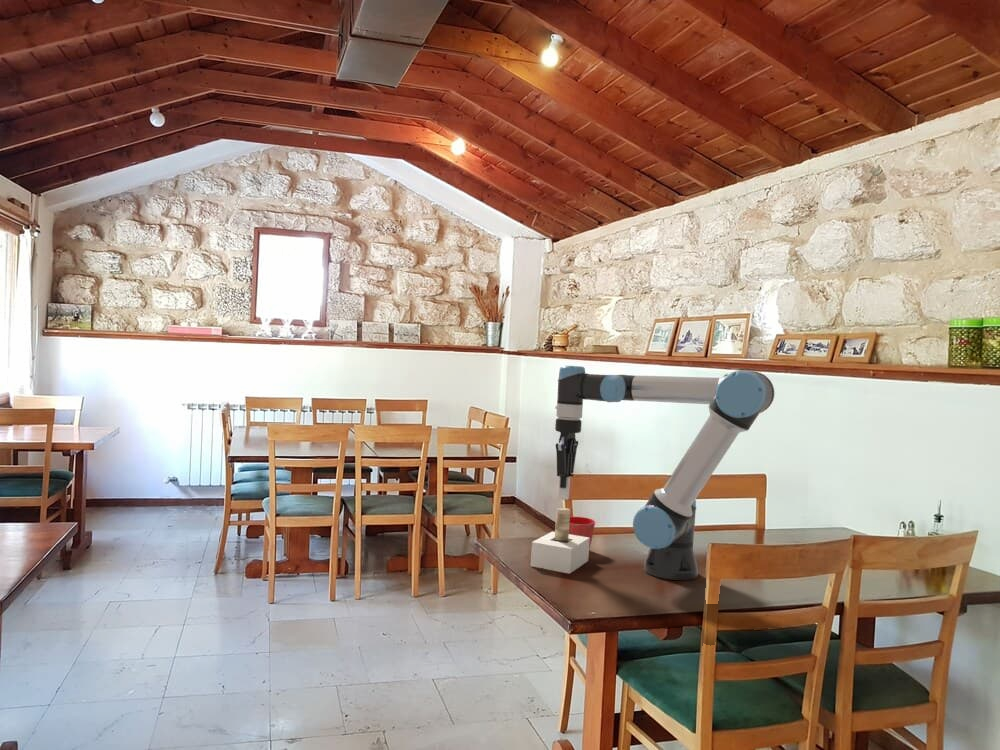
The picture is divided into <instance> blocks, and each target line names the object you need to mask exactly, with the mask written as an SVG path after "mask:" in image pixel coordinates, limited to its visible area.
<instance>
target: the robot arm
mask: <svg viewBox="0 0 1000 750" xmlns="http://www.w3.org/2000/svg"><path fill="white" fill-rule="evenodd" d="M774 399H775V388H774V385H773V382H772V381H771V380H770V378H769V377H768V376H766V375H765V374H763V373H762V372H759V371H754V370H745V369H743V370H741V369H740V370H735V371H732V372H730V373H729V374H728V373H725V374H723V376H722V377H704V376H667V375H666V376H665V375H632V374H631V375H628V374H598V373H597V374H596V373H595V374H594V373H586V368H585V367H584V366H581V365H579V366H578V365H561V366H560V368H559V372H558V379H557V399H556V400H557V401H556V406H555V407H554V408H555V409H556V415H555V416H556V417H557V418H556V419H555V427H554V429H555V431H556V432H558V433H560V434H559V438H558V443H555V451H556V452H555V453H556V477H559V484H558V497H557V498H558V499H559V500H567V501H568V500H570V490H571V489H570V487H571V478H572V477H574V476H575V475H574V472H575V471H574V470H575V465H576V464H575V463H576V456H577V449H578V446H579V440H577V439H576V434H579V433H581V432H582V420H581V419H582V418H583V407H584V406H583V405H584V400H585V401H587V400H589V401H597V402H607V403H620V402H622V401H632V402H635V401H636V402H656V403H671V404H672V403H677V404H693V405H695V404H698V405H708V410H709V416H708V418H707V419H706V421H705V422H704V423H703V425H702V427H701V429H700V430H699V431H698V433H697V435H696V437H695V438H694V439H693V440H692V443H691V444H690V445H689V446H688V449H687V450H686V452H685V454H684V455H683V457H682V458H681V459H680V461H679V463H678V464H677V466H676V467H675V469H674V471H673V472H672V474H671V475H670V476H669V478H668V479H667V482H666V483H665V485H664V486H663V487H662V488H656V489H655V490H654V491H653V493H652V494H651V496H650V498H649V499H648V501H647V502H646V503H645V505H644V506H642V507H641V508H640V509H639V510H637V512H636V513H635V515H634V517H633V518H632V529H633V532H634V535H635V537H636V538H637V540H638V542H640V543H641V544H642V545H643V546H645V547H646V548H649V550H648V553H647V555H646V557H645V559H644V563H643V564H644V565H643V571H644V572H645V573H646V574H649V575H651V576H653V577H656V578H660V579H664V580H665V579H666V580H673V581H689V580H690V581H691V580H694V579H696V578H698V575H699V574H698V572H699V569H698V563H697V560H696V555H695V551H694V538H695V527H696V526H695V525H696V513H697V512H696V511H697V501H696V499H697V497H698V496H699V494H700V493H701V491H702V490H703V489H704V487H705V486H706V485H707V482H708V480H709V479H710V478H711V476H712V474H713V473H714V472H715V470H716V469H717V468H718V466H719V464H720V462H721V461H722V460H723V458H724V457H725V455H726V453H727V452H728V450H729V449H730V448H731V446H732V444H733V443H734V441H735V440H736V439H737V437H738V435H739V434H741V433H743V432H748V431H749V430H750V428H751V427H752V425H753V424H754V422H755V421H756V419H757V418H758V416H759V415H760V414H762V413H764V412H765V411H767V410H768V409H769V407H770V406H771V405H772V404H773V402H774Z"/></svg>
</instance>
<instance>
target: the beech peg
mask: <svg viewBox="0 0 1000 750" xmlns="http://www.w3.org/2000/svg"><path fill="white" fill-rule="evenodd" d="M555 512H556V514H555V526H554V528H555V529H554V532H555V538H554V541H557V542H563V543H568V541H569V539H568V536H569V520H570V517H571V509H570V508H566V507H557V508H556V509H555Z"/></svg>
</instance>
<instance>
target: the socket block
mask: <svg viewBox="0 0 1000 750" xmlns="http://www.w3.org/2000/svg"><path fill="white" fill-rule="evenodd" d="M554 538H555V531H550V532H548V533H545V535H543V536H541V537H539V538H537V539H535V540H533V541H531V550H530V551H531V552H530V566H529V567H534V568H538V569H542V568H543V570H548V571H554V572H559V573H564V574H571V573H573V572H575V571H576V570H577V569H579V568H580V567H581V566H583V565H584V564H586V563H587V562H589V555H590V554H589V553H590V549H589V541H590V538H589V537H583V536H577V535H571V534H569V536H568V539H569V541H568V543H563V542H557V541H554Z"/></svg>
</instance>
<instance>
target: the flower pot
mask: <svg viewBox="0 0 1000 750" xmlns="http://www.w3.org/2000/svg"><path fill="white" fill-rule="evenodd" d="M595 524H596V521H595V520H594V519H592V518H589V517H584V516H570V520H569V534H571V535H577V536H583V537H589V538H590V541H589V550H591V544H592V540H593V537H594V536H593V535H594V532H595V531H594V530H595V526H596V525H595Z"/></svg>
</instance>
